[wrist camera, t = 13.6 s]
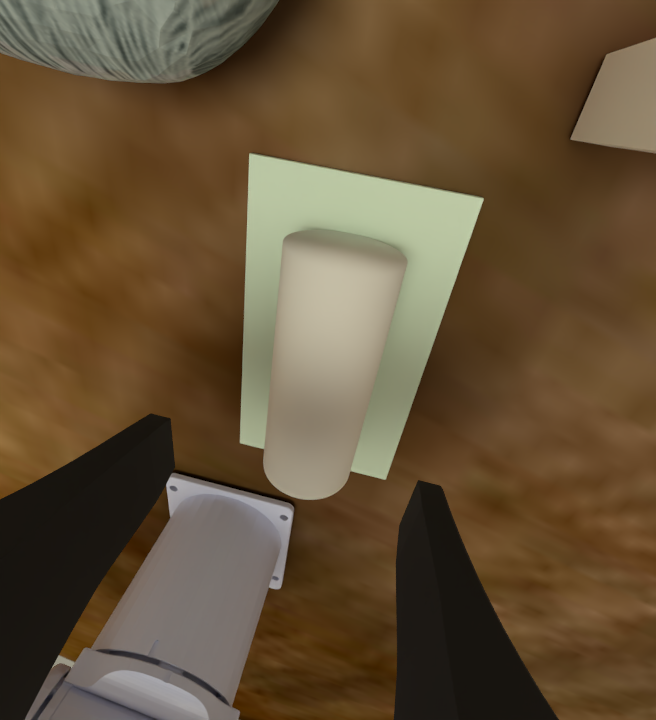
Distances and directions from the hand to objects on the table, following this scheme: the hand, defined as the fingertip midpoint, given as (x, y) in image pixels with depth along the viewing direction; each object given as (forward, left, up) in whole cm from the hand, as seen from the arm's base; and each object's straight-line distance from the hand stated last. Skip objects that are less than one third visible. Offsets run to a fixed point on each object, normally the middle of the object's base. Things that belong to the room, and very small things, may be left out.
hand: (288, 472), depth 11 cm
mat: (0, 0, -7) cm, 7 cm away
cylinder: (0, 0, -7) cm, 7 cm away
